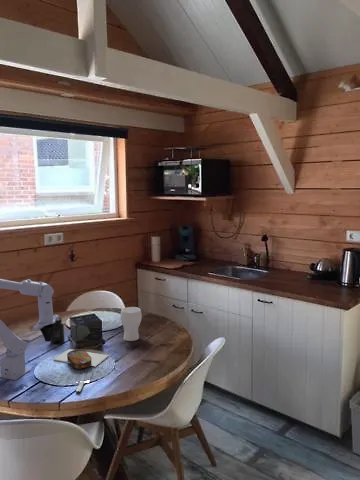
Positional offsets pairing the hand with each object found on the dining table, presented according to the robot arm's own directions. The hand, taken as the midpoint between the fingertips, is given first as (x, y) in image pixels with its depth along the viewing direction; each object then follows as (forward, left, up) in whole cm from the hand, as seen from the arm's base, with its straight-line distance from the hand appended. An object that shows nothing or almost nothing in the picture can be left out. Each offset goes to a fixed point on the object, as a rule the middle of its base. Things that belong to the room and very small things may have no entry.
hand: (48, 340), depth 182 cm
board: (+9, -10, -10) cm, 17 cm away
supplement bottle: (+22, +11, -11) cm, 27 cm away
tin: (+1, -9, -9) cm, 13 cm away
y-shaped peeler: (-9, -23, -10) cm, 27 cm away
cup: (+39, -21, -11) cm, 45 cm away
